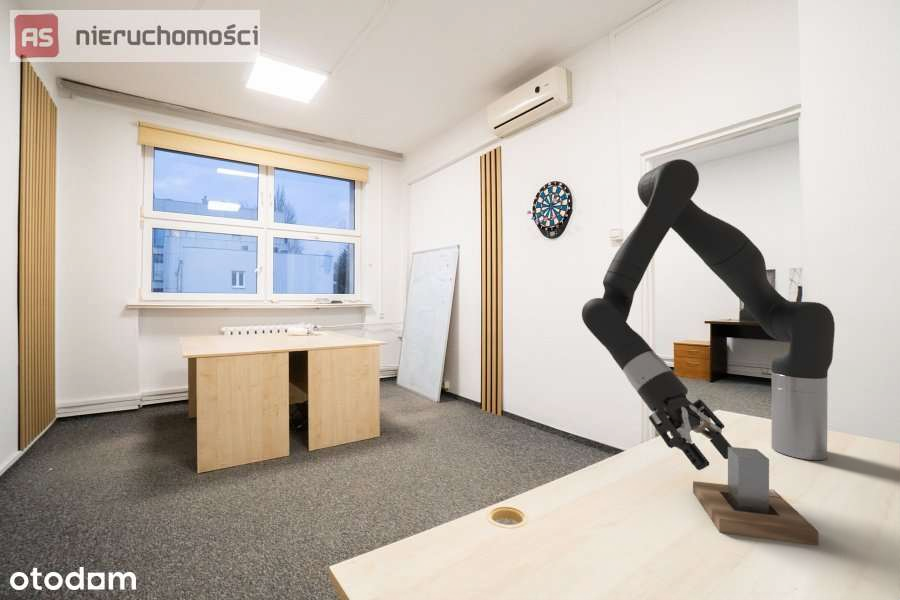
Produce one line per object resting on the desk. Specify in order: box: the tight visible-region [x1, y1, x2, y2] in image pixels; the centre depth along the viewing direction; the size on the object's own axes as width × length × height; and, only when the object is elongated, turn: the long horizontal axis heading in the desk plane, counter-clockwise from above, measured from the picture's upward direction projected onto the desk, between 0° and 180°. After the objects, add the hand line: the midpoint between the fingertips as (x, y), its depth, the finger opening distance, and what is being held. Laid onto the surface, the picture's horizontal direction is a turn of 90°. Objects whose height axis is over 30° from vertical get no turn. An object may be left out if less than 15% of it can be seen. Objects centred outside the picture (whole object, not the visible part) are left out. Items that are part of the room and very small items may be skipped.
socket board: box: [692, 480, 819, 546], centre depth 62 cm, size 12×12×2 cm
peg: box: [727, 446, 770, 515], centre depth 62 cm, size 4×4×10 cm
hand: (718, 462), depth 66 cm, fingers open, 8 cm apart
